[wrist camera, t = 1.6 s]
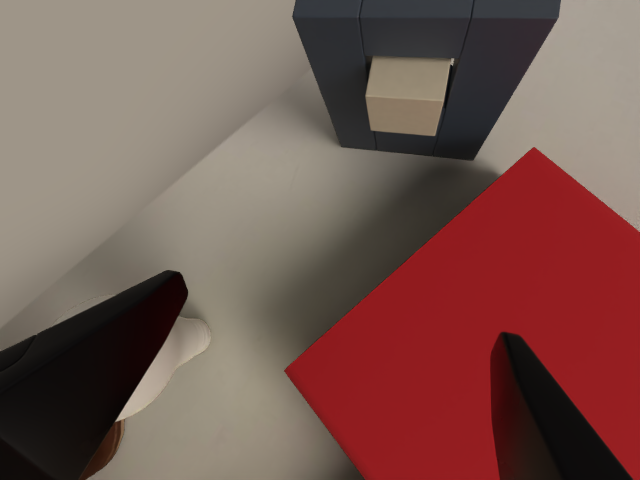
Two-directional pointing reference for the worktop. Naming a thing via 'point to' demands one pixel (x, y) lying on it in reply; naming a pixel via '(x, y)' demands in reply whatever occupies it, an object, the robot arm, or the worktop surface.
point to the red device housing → (486, 331)
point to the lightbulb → (158, 355)
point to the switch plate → (429, 42)
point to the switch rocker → (406, 94)
